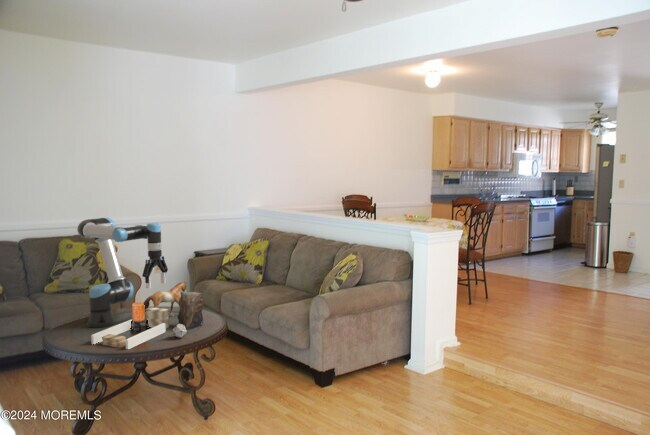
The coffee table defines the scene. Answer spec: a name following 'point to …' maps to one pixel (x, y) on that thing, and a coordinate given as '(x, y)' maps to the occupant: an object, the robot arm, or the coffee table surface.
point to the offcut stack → (114, 340)
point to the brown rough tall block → (190, 309)
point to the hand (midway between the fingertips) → (155, 285)
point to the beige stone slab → (157, 317)
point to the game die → (179, 330)
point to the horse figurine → (166, 296)
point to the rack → (132, 340)
